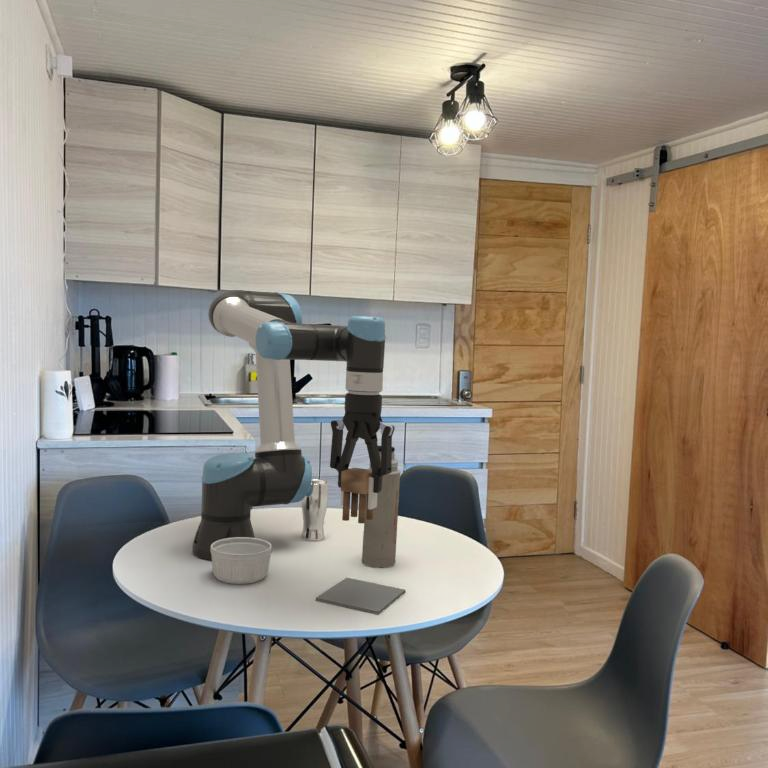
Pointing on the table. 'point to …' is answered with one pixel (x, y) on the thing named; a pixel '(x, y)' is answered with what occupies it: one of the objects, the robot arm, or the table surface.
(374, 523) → the thermos bottle
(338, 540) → the table surface
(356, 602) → the mat
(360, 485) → the stool
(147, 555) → the table surface
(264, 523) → the table surface
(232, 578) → the ramekin
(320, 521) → the silver cocktail shaker
